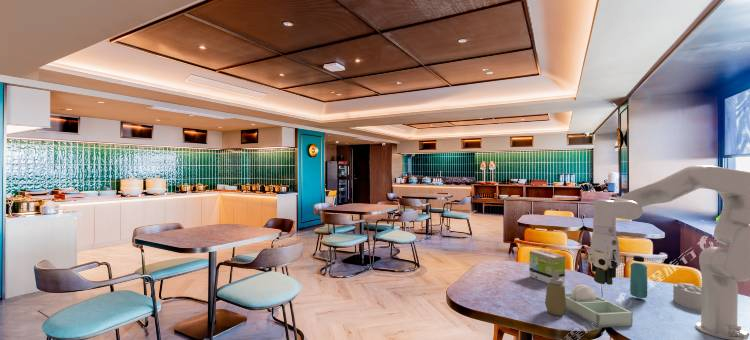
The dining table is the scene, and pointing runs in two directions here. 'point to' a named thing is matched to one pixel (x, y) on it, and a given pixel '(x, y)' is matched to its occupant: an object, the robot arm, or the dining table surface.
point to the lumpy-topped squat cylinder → (687, 295)
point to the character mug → (600, 268)
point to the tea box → (546, 265)
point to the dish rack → (599, 312)
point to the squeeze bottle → (555, 295)
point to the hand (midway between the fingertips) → (603, 274)
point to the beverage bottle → (638, 278)
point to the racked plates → (583, 293)
